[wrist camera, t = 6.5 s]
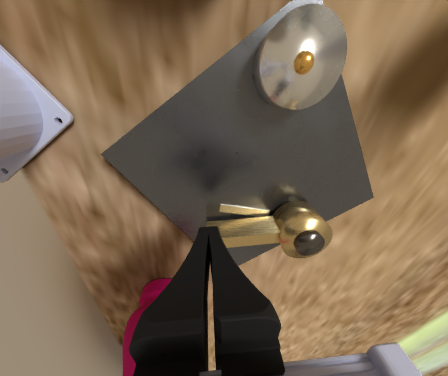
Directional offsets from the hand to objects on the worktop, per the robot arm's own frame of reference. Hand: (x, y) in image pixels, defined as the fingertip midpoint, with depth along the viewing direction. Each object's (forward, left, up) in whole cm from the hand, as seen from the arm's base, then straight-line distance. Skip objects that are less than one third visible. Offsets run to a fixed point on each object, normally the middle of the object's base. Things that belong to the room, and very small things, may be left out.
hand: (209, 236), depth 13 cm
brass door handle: (+3, -4, -4) cm, 7 cm away
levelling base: (+5, 0, -6) cm, 8 cm away
